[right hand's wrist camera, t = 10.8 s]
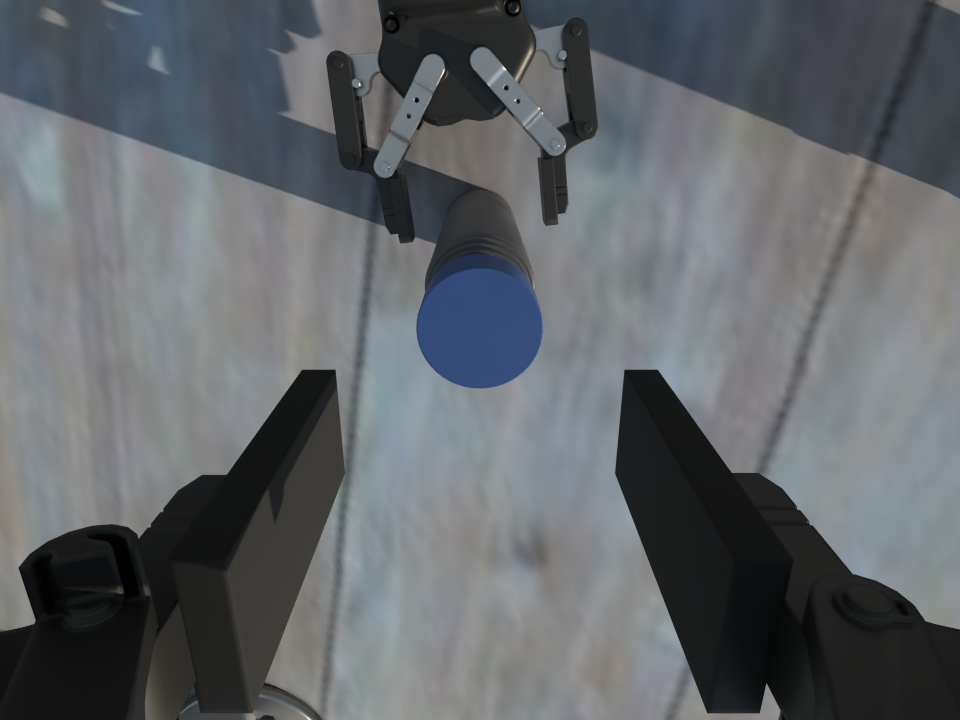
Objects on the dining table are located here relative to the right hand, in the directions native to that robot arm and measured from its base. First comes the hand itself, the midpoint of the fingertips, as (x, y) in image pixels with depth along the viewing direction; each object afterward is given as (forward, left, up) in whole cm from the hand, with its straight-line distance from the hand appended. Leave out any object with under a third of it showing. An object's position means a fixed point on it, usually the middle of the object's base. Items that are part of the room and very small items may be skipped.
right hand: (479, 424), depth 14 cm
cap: (0, 0, -7) cm, 7 cm away
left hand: (0, 0, -24) cm, 24 cm away
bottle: (0, 0, -30) cm, 30 cm away
